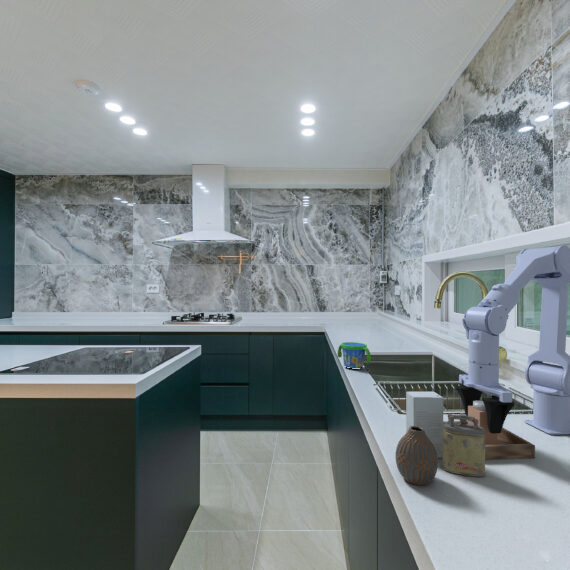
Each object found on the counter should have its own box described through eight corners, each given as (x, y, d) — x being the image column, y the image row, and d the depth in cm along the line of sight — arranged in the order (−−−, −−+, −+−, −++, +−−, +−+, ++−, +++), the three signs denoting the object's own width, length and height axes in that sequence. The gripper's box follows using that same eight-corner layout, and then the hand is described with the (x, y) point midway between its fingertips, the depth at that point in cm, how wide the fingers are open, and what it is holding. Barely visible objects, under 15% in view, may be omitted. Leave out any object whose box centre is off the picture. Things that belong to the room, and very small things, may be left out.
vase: (390, 468, 64) (391, 420, 64) (428, 469, 64) (429, 421, 64) (402, 489, 57) (402, 436, 57) (444, 491, 57) (445, 437, 57)
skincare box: (433, 448, 72) (434, 391, 72) (443, 458, 68) (444, 397, 68) (404, 448, 72) (405, 390, 72) (413, 458, 68) (413, 397, 68)
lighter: (482, 469, 64) (483, 415, 64) (488, 480, 61) (489, 422, 61) (440, 463, 66) (441, 410, 66) (444, 473, 63) (444, 417, 63)
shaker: (484, 437, 77) (485, 400, 77) (497, 445, 73) (497, 406, 73) (467, 437, 77) (468, 400, 77) (479, 445, 73) (479, 406, 73)
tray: (490, 431, 82) (490, 420, 82) (534, 458, 69) (535, 445, 69) (437, 432, 81) (437, 421, 81) (473, 459, 68) (473, 446, 68)
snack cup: (376, 370, 143) (376, 345, 143) (359, 373, 137) (359, 347, 137) (348, 363, 155) (348, 340, 156) (331, 366, 149) (331, 342, 149)
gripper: (447, 355, 82) (446, 413, 82) (488, 370, 68) (487, 440, 67) (475, 355, 83) (474, 413, 82) (522, 370, 68) (521, 439, 68)
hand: (482, 425), depth 75 cm, fingers open, 7 cm apart
